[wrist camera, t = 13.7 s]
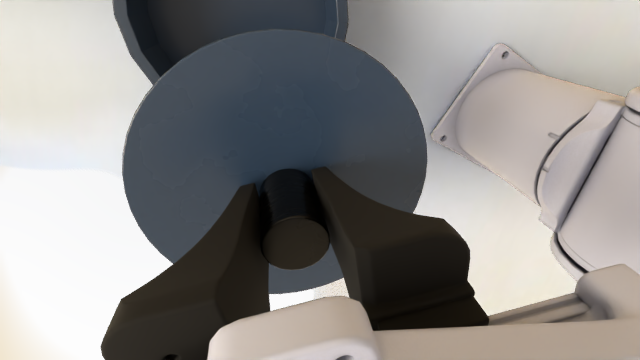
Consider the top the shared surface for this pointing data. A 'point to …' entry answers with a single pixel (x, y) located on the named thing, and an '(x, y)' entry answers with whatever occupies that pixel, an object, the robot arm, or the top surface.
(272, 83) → the lid
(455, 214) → the top surface
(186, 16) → the pot
